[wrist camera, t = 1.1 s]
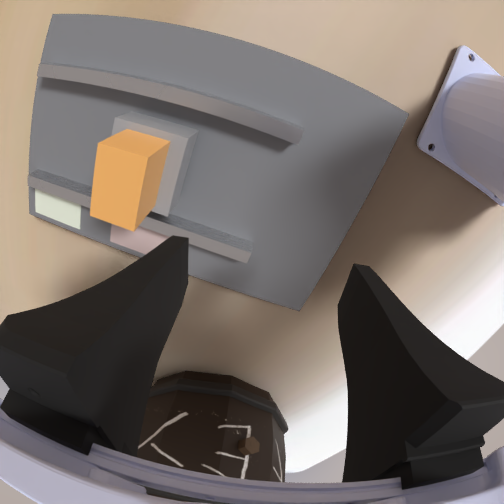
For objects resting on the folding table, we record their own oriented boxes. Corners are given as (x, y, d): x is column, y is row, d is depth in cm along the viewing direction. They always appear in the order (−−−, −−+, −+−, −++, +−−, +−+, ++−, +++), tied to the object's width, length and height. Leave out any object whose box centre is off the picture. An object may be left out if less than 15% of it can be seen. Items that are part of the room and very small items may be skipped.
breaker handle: (198, 130, 15) (168, 153, 11) (178, 201, 18) (148, 244, 14) (132, 111, 15) (84, 130, 11) (118, 181, 17) (76, 217, 13)
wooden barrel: (322, 403, 33) (325, 529, 19) (236, 443, 41) (224, 534, 28) (184, 338, 28) (139, 498, 15) (128, 397, 36) (94, 497, 23)
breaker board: (396, 109, 16) (417, 117, 13) (298, 293, 24) (299, 323, 21) (70, 15, 13) (41, 13, 10) (43, 202, 21) (20, 221, 18)
